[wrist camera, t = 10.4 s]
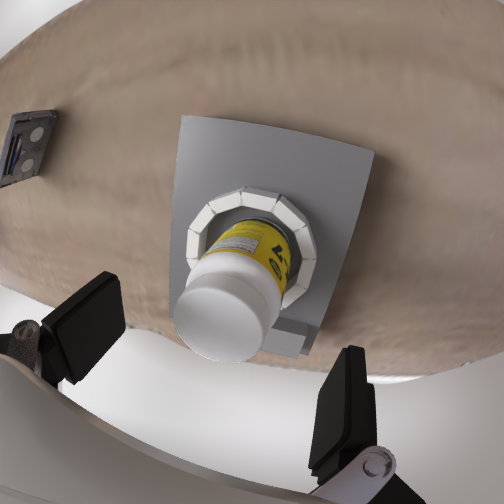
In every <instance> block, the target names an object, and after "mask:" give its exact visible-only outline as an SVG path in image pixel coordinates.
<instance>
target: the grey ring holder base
mask: <svg viewBox="0 0 504 504" xmlns="http://www.w3.org/2000/svg"><path fill="white" fill-rule="evenodd" d="M374 153H375V151H372V150H369V149H365V148H362V147H359V146H355V145H352V144H348V143H344V142H341V141H337V140H333V139H329V138H325V137H321V136H317V135H312V134H308V133H303V132H299V131H294V130H289V129H284V128H278V127H273V126H267V125H261V124H255V123H249V122H242V121H235V120H227V119H219V118H209V117H199V116H187V115H182V120H181V127H180V135H179V143H178V151H177V161H176V170H175V181H174V193H173V206H172V222H171V241H170V274H169V317H172V318H173V310H174V306H175V304H176V302H177V300H178V298H179V297H180V296H181V294H182V293H183V292H184V290H185V288H186V282H187V279H188V276H189V274H190V272H191V270H192V269H193V267H194V266H195V264H196V263H197V262H198V261H199V260H200V259H201V258H202V257H203V255H204V254H205V253H206V252H207V251H208V250H209V249H210V248H211V247H212V245H213V244H214V243H215V242H216V241H217V240H218V239H219V238H220V237H221V236H222V234H223V233H224V232H225V231H226V230H227V229H228V228H229V227H230V226H231V225H232V224H234V223H235V222H237V221H239V220H242V219H245V218H252V217H256V218H263V219H266V220H269V221H271V222H273V223H274V224H276V225H277V226H279V227H280V228H281V229H282V230H283V232H284V233H285V234H286V236H287V238H288V240H289V242H290V245H291V251H292V259H291V265H290V269H289V274H288V279H287V283H286V287H285V292H284V296H283V301H282V306H281V310H280V313H279V316H278V318H277V320H276V322H275V323H274V325H273V326H272V327H271V328H270V329H269V330H268V332H267V335H266V337H265V339H264V342H263V345H262V347H261V349H260V350H261V351H265V352H269V353H273V354H277V355H282V356H286V357H290V358H294V359H297V358H298V356H299V354H304V355H309V352H310V350H311V347H312V345H313V343H314V340H315V338H316V336H317V333H318V331H319V328H320V326H321V323H322V321H323V318H324V315H325V313H326V310H327V308H328V305H329V302H330V300H331V297H332V294H333V292H334V289H335V286H336V283H337V280H338V278H339V275H340V272H341V269H342V266H343V263H344V260H345V257H346V254H347V251H348V248H349V245H350V242H351V238H352V235H353V232H354V229H355V225H356V222H357V219H358V215H359V212H360V208H361V205H362V201H363V197H364V194H365V190H366V186H367V182H368V178H369V174H370V170H371V166H372V162H373V158H374Z"/></svg>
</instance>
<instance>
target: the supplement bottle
mask: <svg viewBox="0 0 504 504" xmlns="http://www.w3.org/2000/svg"><path fill="white" fill-rule="evenodd" d="M291 259H292V251H291V245H290V242H289V240H288V238H287V236H286V234H285V233H284V232H283V230H282V229H281V228H280V227H279V226H277V225H276V224H274V223H273V222H271V221H269V220H266V219H263V218H256V217H252V218H245V219H242V220H239V221H237V222H235V223H234V224H232V225H231V226H230V227H229V228H228V229H227V230H226V231H225V232H224V233H223V234H222V236H221V237H220V238H219V239H218V240H217V241H216V242H215V243H214V244H213V245H212V247H211V248H210V249H209V250H208V251H207V252H206V253H205V254H204V255H203V257H202V258H201V259H200V260H199V261H198V262H197V263H196V264H195V266H194V267H193V269H192V270H191V272H190V274H189V276H188V279H187V282H186V288H185V290H184V292H183V293H182V294H181V296H180V297H179V298H178V300H177V302H176V304H175V306H174V310H173V322H174V325H175V329H176V331H177V333H178V335H179V336H180V338H181V339H182V340H183V342H184V343H185V344H186V345H187V346H188V347H189V348H190V349H192V350H193V351H194V352H196V353H197V354H199V355H200V356H202V357H204V358H207V359H209V360H212V361H215V362H219V363H227V364H234V363H240V362H244V361H246V360H249V359H250V358H252V357H253V356H255V355H256V354H257V353H258V352H259V350H260V349H261V347H262V345H263V342H264V339H265V337H266V335H267V332H268V330H269V329H270V328H271V327H272V326H273V325H274V323H275V322H276V320H277V318H278V316H279V313H280V310H281V306H282V301H283V296H284V292H285V287H286V283H287V279H288V274H289V269H290V265H291Z"/></svg>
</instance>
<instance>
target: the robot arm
mask: <svg viewBox="0 0 504 504" xmlns="http://www.w3.org/2000/svg"><path fill="white" fill-rule="evenodd" d="M41 322H42V326H39V324H38V323H37V322H36V321H34V320H23V321H21V322H19V323H18V324H17V325H15V327H14V328H13V330H12V333H9V334H0V504H426V503H425V501H424V500H423V499H422V498H421V497H420V496H419V495H418V494H416V493H415V492H414V491H413V490H412V489H411V488H410V487H409V486H408V485H407V484H406V483H405V482H404V481H403V480H401V479H400V478H399V477H398V476H397V475H396V474H395V473H394V472H395V469H396V459H395V458H394V455H393V454H392V453H391V452H390V451H389V450H388V449H386V448H384V447H381V446H377V423H376V404H375V390H374V385H373V384H371V383H367V374H366V361H365V350H364V348H362V347H358V346H353V345H349V346H348V347H347V348H343V349H342V350H341V352H340V354H339V356H338V358H337V360H336V362H335V364H334V366H333V367H332V369H331V371H330V373H329V375H328V376H327V378H326V380H325V382H324V384H323V386H322V388H321V389H320V391H319V394H318V400H317V409H316V417H315V425H314V432H313V439H312V446H311V452H310V458H309V465H308V468H309V469H312V474H311V476H315V477H318V481H317V484H318V485H319V486H318V487H316V488H315V489H314V490H312V491H311V492H310V493H308V494H305V493H301V492H296V491H291V490H287V489H282V488H278V487H273V486H268V485H264V484H260V483H256V482H252V481H248V480H244V479H241V478H237V477H234V476H230V475H227V474H224V473H220V472H217V471H214V470H211V469H208V468H205V467H202V466H199V465H196V464H194V463H191V462H188V461H186V460H183V459H181V458H178V457H176V456H173V455H171V454H169V453H166V452H164V451H162V450H159V449H157V448H155V447H153V446H151V445H149V444H147V443H144V442H142V441H140V440H138V439H136V438H134V437H132V436H130V435H128V434H126V433H125V432H123V431H121V430H119V429H117V428H116V427H114V426H112V425H110V424H109V423H107V422H105V421H103V420H102V419H100V418H98V417H97V416H95V415H93V414H92V413H90V412H89V411H87V410H86V409H84V408H83V407H81V406H79V405H78V404H77V403H75V402H74V401H72V400H71V399H69V398H68V397H66V396H65V395H64V394H62V380H63V379H64V378H65V379H66V380H67V381H69V382H70V383H72V384H73V385H75V384H76V383H77V382H78V381H81V380H82V379H83V378H84V377H85V376H86V375H87V374H88V372H89V371H90V370H91V369H92V368H93V367H94V366H95V364H96V363H97V362H98V361H99V360H100V359H101V358H102V357H103V356H104V354H105V353H106V352H107V351H108V350H109V349H110V348H111V347H112V345H113V344H114V343H115V342H116V341H117V340H118V339H119V338H120V337H121V335H122V334H123V333H124V331H125V328H126V325H125V318H124V311H123V304H122V296H121V287H120V281H119V280H118V277H117V275H115V274H112V273H110V272H107V271H104V272H102V273H101V274H99V275H98V276H97V277H95V278H94V279H93V280H91V281H90V282H89V283H87V284H86V285H85V286H83V287H82V288H81V289H80V290H78V291H77V292H76V293H74V294H73V295H72V296H71V297H69V298H68V299H67V300H66V301H64V302H63V303H62V304H61V305H59V306H58V307H57V308H56V309H55V310H53V311H52V312H51V313H50V314H48V315H47V316H46V317H45V318H44V319H43V320H41Z"/></svg>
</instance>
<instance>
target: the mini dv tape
mask: <svg viewBox="0 0 504 504" xmlns="http://www.w3.org/2000/svg"><path fill="white" fill-rule="evenodd" d="M57 119H58V115H57V114H56V113H55V112H54V111H53V110H42V111H32V112H23V113H17V114H14V115H12V117H11V120H10V123H9V127H8V130H7V134H6V138H5V142H4V146H3V150H2V155H1V160H0V188H3V187H6V186H8V185H11V184H14V183H17V182H19V181H22V180H25V179H28V178H31V177H35V176H37V175H38V172H39V168H40V165H41V162H42V159H43V156H44V153H45V150H46V147H47V144H48V141H49V139H50V136H51V133H52V131H53V128H54V126H55V123H56V121H57Z"/></svg>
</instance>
